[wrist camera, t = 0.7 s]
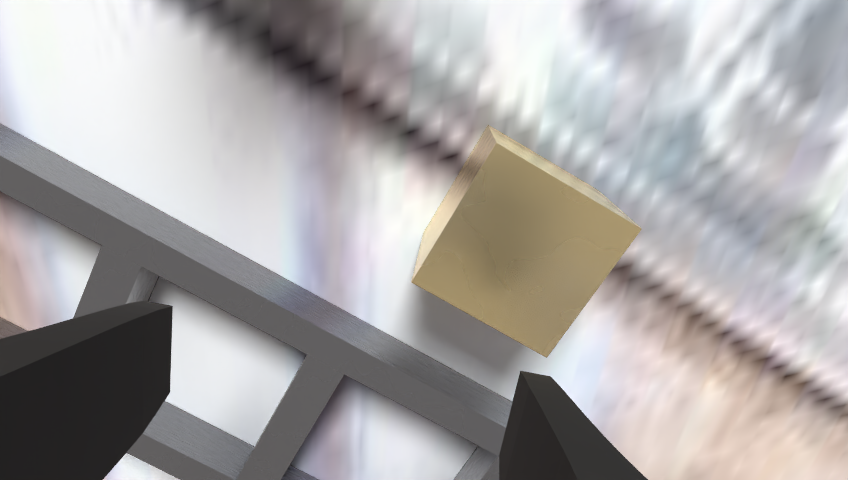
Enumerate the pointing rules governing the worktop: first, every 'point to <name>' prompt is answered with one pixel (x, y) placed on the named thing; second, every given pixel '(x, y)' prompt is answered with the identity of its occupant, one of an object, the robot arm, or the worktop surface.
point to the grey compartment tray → (253, 303)
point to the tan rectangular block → (520, 243)
